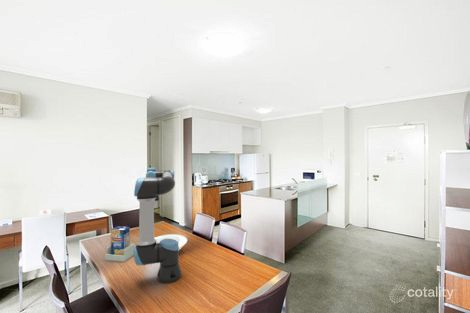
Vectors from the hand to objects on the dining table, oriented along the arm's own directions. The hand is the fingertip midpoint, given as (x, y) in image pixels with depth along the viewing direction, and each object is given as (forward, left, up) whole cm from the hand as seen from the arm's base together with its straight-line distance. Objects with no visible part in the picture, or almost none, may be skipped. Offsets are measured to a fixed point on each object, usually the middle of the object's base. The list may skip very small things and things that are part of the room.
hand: (151, 209), depth 184 cm
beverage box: (+13, +22, -31) cm, 40 cm away
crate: (+13, +22, -32) cm, 41 cm away
